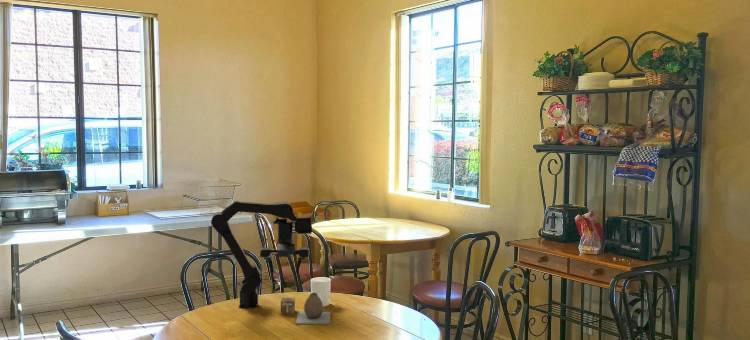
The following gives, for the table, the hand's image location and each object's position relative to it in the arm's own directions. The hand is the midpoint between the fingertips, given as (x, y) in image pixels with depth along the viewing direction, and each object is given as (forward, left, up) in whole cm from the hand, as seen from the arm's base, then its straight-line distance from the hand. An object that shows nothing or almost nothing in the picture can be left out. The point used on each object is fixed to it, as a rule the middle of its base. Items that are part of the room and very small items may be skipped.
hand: (285, 273), depth 246 cm
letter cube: (+2, -11, -12) cm, 16 cm away
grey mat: (+12, -19, -12) cm, 25 cm away
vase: (+12, -19, -12) cm, 25 cm away
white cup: (+14, -1, -12) cm, 19 cm away
